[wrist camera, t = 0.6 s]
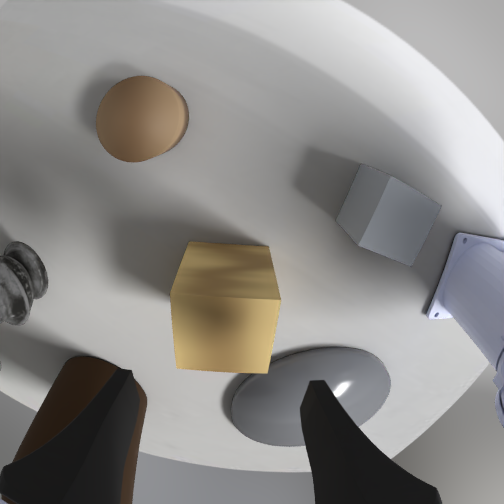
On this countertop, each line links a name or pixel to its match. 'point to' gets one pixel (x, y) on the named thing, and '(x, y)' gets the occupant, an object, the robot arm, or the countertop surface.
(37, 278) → the salt shaker
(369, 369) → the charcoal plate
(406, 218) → the slate grey block
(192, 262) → the ochre block
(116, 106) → the oak cylinder
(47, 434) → the olive oil
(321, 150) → the countertop surface
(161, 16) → the countertop surface
